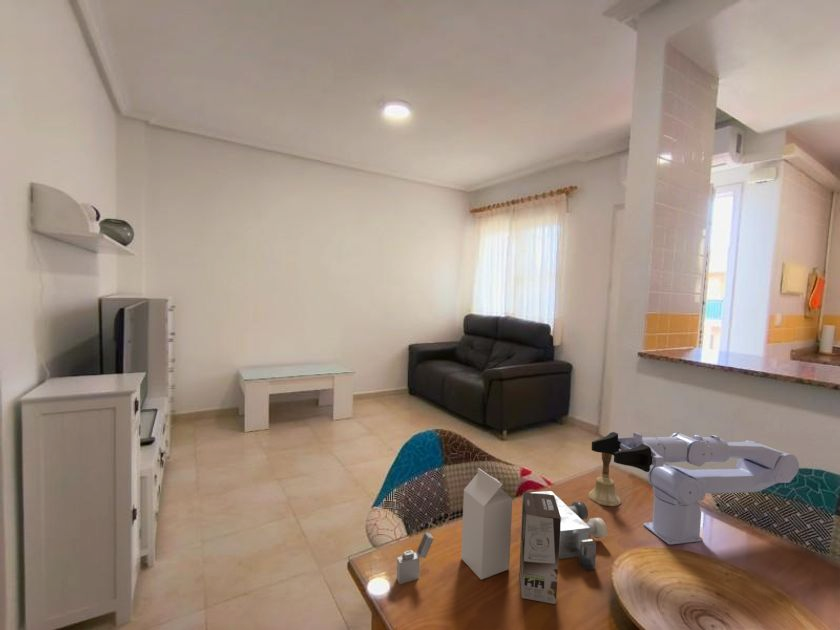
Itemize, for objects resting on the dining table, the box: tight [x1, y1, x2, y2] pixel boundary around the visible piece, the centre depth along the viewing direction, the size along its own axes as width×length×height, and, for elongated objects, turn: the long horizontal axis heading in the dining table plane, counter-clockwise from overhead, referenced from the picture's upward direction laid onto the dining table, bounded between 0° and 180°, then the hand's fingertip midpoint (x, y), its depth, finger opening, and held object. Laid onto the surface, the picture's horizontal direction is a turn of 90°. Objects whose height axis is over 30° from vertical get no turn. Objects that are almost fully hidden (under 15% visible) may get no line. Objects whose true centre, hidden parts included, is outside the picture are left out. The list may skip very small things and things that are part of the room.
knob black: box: [568, 501, 589, 521], centre depth 98 cm, size 8×4×4 cm, turn 102°
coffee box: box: [519, 491, 561, 605], centre depth 77 cm, size 9×6×16 cm
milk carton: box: [460, 467, 513, 580], centre depth 82 cm, size 7×7×19 cm
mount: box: [531, 490, 591, 560], centre depth 93 cm, size 7×16×6 cm, turn 12°
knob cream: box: [585, 517, 608, 539], centre depth 91 cm, size 8×4×4 cm, turn 102°
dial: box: [578, 538, 597, 572], centre depth 82 cm, size 3×3×6 cm
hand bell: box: [587, 453, 622, 507], centre depth 110 cm, size 8×8×16 cm
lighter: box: [396, 532, 434, 585], centre depth 78 cm, size 7×2×8 cm, turn 115°
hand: (603, 451), depth 90 cm, fingers open, 7 cm apart
